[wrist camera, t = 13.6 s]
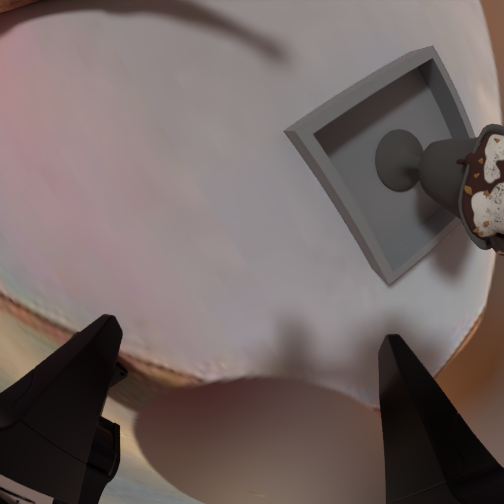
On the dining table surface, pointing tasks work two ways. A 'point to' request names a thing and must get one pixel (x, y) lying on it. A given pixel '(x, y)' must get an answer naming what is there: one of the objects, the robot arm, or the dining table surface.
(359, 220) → the tray
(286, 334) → the dining table surface
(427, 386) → the robot arm
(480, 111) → the dining table surface
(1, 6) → the drinking horn
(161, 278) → the dining table surface
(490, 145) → the sundae
